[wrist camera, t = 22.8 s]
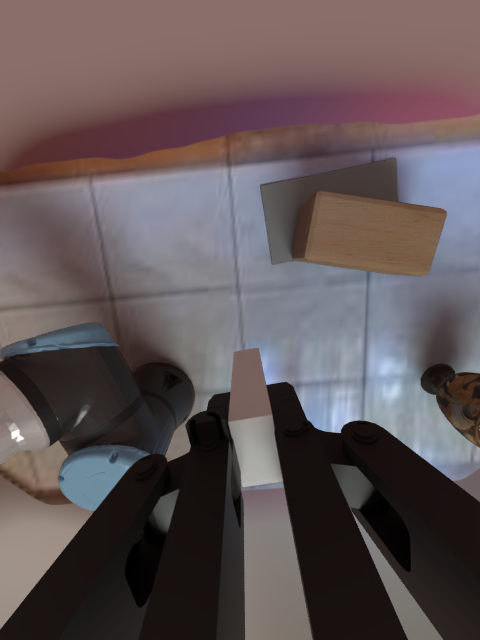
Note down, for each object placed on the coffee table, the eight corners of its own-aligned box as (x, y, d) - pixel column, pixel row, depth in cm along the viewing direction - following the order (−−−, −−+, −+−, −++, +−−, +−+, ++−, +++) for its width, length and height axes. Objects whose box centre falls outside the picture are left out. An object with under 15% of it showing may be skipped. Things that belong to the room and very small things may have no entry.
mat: (272, 264, 47) (272, 264, 46) (260, 186, 44) (260, 186, 43) (398, 240, 46) (399, 240, 45) (395, 158, 42) (396, 157, 42)
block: (316, 187, 34) (452, 207, 35) (299, 204, 44) (406, 220, 44) (302, 259, 36) (430, 277, 37) (289, 260, 46) (391, 274, 47)
